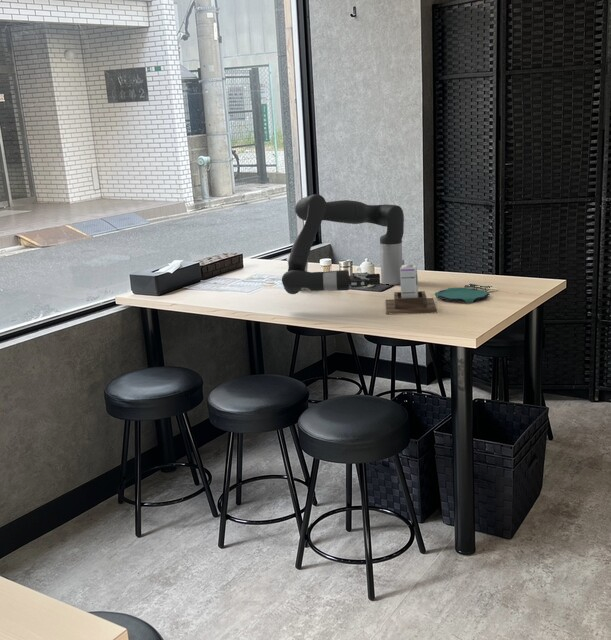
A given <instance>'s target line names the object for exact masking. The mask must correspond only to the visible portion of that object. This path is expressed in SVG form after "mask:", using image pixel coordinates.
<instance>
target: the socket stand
mask: <svg viewBox="0 0 611 640" xmlns="http://www.w3.org/2000/svg"><path fill="white" fill-rule="evenodd" d="M393 295H394V299H389V298H388V299H385V312H386V315H390V314H389V313H408V314H427V313H429V314H430V313H431V312H433V314H434V312H436V313H438V311H437V310H438V309H437V306H436V302H435V299H434V297H427V295H426V291H425V290H423V291H422V290H420V291H419V290H418V298H401V291H396V292H395V291H394V292H393ZM431 314H432V313H431Z"/></svg>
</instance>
